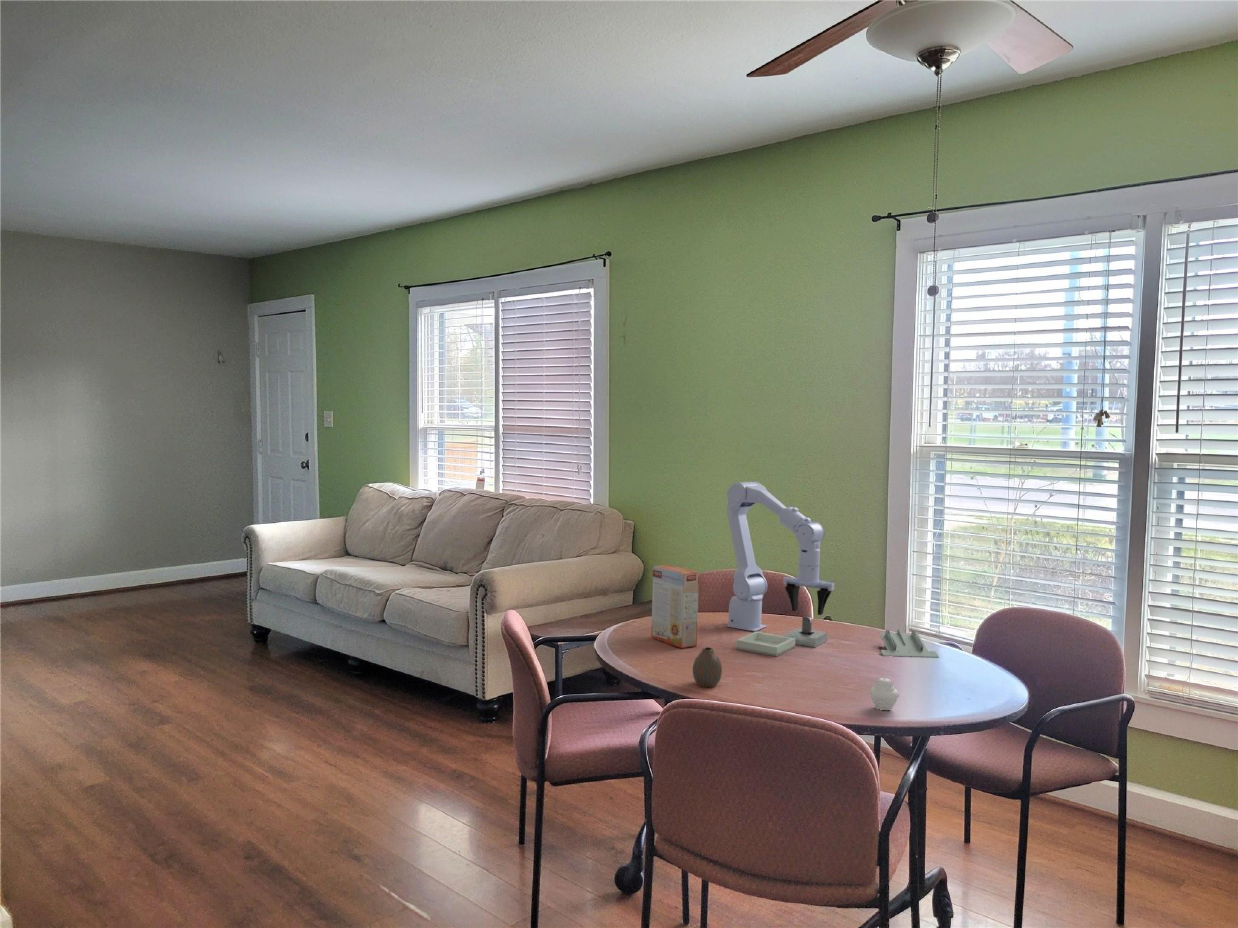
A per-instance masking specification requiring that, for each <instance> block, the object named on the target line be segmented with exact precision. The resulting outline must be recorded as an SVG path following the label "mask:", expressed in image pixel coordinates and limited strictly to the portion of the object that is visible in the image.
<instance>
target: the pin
mask: <svg viewBox="0 0 1238 928" xmlns="http://www.w3.org/2000/svg"><path fill="white" fill-rule="evenodd" d="M801 617H802V625H801V628H802V634H807V635H811V630H812V621H813V619H812V618H813V617H812V616H807V615H804V616H801Z"/></svg>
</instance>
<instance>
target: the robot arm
mask: <svg viewBox="0 0 1238 928" xmlns="http://www.w3.org/2000/svg"><path fill="white" fill-rule="evenodd" d="M726 497H727V506H726V515H727V519H728V524H729V528H730V529H729V530H730V534H731V540H732V544H733V549H734V555H735V560H736V565H737V569H736V571H735V572H734V573H733V585H732V588H733V593H734V595H733V596H732V597H731V599H730V601H729V605H728V624H727V625H726V627H728V628H733V629H739V630H745V631H750V632H756V631H757V632H758V631H760V630H762V629H764V628H766V627H767V625H766V624H762V613H763V611H762V608H763V598H764V594H766V592H767V591H768V582H767V579H766V578H765V576H764V574H763V570H762V569H761V568H760V567H759V566H758V565H757V564H756V558H755V553H754V548H753V544H752V539H751V535H750V534H751V533H750V527H749V523H748V517H747V513H748V512H749V510H750V509H751V508H752V507H753V506H754V505H756V504H757V503H758V504H759V505H761V506H764V508H766V509H767V510H769V511H770V512H772V514H773V513H774V514H775V515H776V516H778V518H779V519H778V520H779V523H780V524H782V525H783V526H784V527H785V528H786V529H788V530H789V531H791V533H793V534H794V535H795V537H796V540H797V541H798V548H799V549H798V552H799V553H798V555H799V556H798V577H792V576H791V577H790V576H784V577H783V580H782V581H783V583H782V584H783V585H786V586H785V587H784V588H785V592H786V593H787V596H788V598H789V601H790V605H791V609H792V612H796V611H798V607H799V593H800V588H801V587H804V588H812V589H818V590H817V591H816V593H817V595H816V596H817V615H818V616H821V615H823V614H824V610H825V607H826V604H827V602H828V601H827V600H828V599H829V597H830V596H831V593H832V591H834V590H835V582H829V581H825V580H821V579H820V560H821V557H820V556H821V541H822V540H823V539H824V538H825V528H824V527H823V525H822V524H821V523H820V522H819V521H811V518H809V517H806V516H805V515H803V514H802V513H801V512H800V511H799V508H798V507H796V506H795V507H793V506H789V507H787V506H785V505H784V504H783V503H782V502H781V501H779V499H778V498H776V497H775V496H774V495H773V494H772V493H770V492H769V491H768V490H767V488H766V486H764V485H762V484H761V483H760V482H759V481H757V480H753V481H752V480H751V481H743V482H742V481H741V482H739V481H737V482H733V483H732V484H731V485H730V486H729V488H728V490H727V491H726Z"/></svg>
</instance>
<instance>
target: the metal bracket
mask: <svg viewBox="0 0 1238 928" xmlns="http://www.w3.org/2000/svg"><path fill="white" fill-rule="evenodd" d="M879 636H880V638H881V640H882V642H883V644H884V647H885V648H886V649H881V650H880V653H881V655H882V656H883V657H885V656H886V658H887V657H888V658H889V656H893V658H894V657H895V658H897V657H899V658H901V657H902V658H926V659H929V658H930V659H939V658H940V657H939V654H938V653H937V651H934V650H933V651H932V650H928V649H927V647H926V645H925V643H924V642H923V639H922V637H921V636H920V634H919V633H917V632H916V630H914V629H913V630H911V632H906V633H905V632H901V631H900V629H899V628H898V629H897V632H891V631H890V629H885V632H881V631H880V632H879Z"/></svg>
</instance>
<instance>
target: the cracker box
mask: <svg viewBox="0 0 1238 928" xmlns="http://www.w3.org/2000/svg"><path fill="white" fill-rule="evenodd" d="M652 569H653V570H652V595H651V596H652V599H651V601H652V602H651V606H652V607H651V634H650V635H651V636H650V638H652V639H655V640H658V641H661V642H662V643H663V642H664V643H666V644H669V645H670V646H673V647H677V648H679V649H687V648H692V647H697V642H698V618H699V614H698V613H699V611H698V610H699V586H700V585H699V583H700V572H698V571H695V570H693V569H692V570H690V569H686V568H683V567H678V566H675V565H671V564H660V565H654V566H653V568H652Z"/></svg>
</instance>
